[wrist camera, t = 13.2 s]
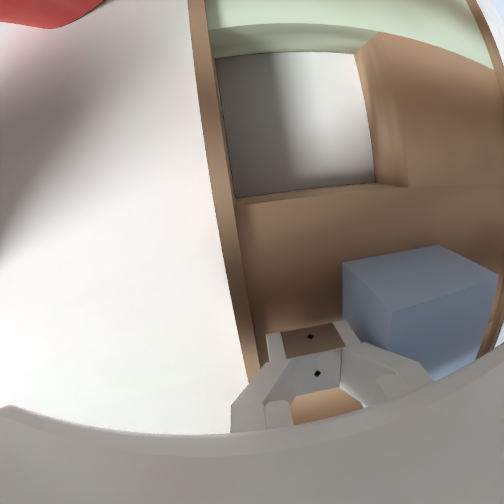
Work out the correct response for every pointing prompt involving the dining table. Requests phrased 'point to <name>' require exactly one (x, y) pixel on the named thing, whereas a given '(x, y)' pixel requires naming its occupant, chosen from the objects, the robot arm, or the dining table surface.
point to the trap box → (384, 154)
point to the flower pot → (44, 11)
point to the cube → (420, 305)
